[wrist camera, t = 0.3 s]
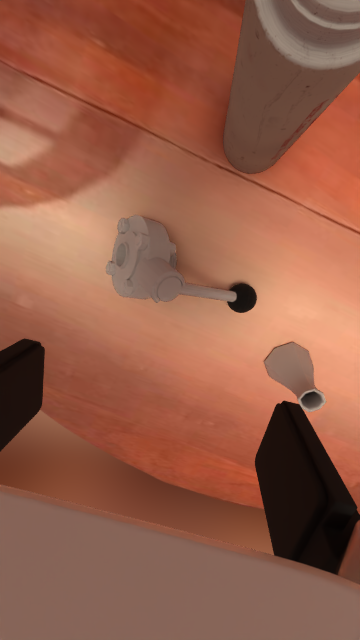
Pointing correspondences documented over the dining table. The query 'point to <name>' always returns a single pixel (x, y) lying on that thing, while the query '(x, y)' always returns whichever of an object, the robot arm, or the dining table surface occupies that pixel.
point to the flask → (295, 374)
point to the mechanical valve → (160, 268)
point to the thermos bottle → (287, 74)
